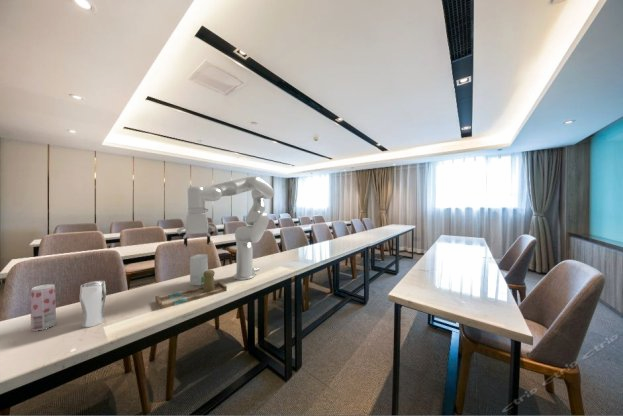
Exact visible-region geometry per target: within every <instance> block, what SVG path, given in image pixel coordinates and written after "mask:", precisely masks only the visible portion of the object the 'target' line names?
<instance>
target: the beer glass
mask: <svg viewBox="0 0 623 416" xmlns="http://www.w3.org/2000/svg"><path fill="white" fill-rule="evenodd" d="M106 288H107V285H106V281H105V280H95V281H89V282H86V283H84V284H81V285H80V292H79V303H80V307H81V310H82V311H81V312H82V314H83V315H82V317H83V318H82V324H81V327H82V328H91V327H95V326H98V325H101V324H102V323H104V322H105V320H106V319H105V316H104V307H105V302H106V298H107V289H106Z"/></svg>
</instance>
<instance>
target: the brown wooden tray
mask: <svg viewBox="0 0 623 416" xmlns="http://www.w3.org/2000/svg"><path fill="white" fill-rule="evenodd" d="M214 284H215V288H216V287H217V288H218V289H215V290H214V291H210V292H206V293H203V286H201V287H195V288H192V289H187V290H184V291H177V292H173V293H169V294H167V295H163V296H159V295H155V300H154V301H155V303H156V305H157V308H158V309H159V310H163V309H166V308H170V307H172V306H177V305H178V306H179V305H181V304H184V303H187V302H191V301H195V300H199V299H203V298H206V297H209V296H213V295H217V294H221V293H224V292H227V285H225V284H224V283H222V282H221V281H220V280H219V281H217V282H216V283H214ZM201 291H202V293H199V294H195V295H191V296H188V297H186V296H185V295H190V294H192V293H193V294H194V293H197V292H201ZM181 296H185V297H182V298H178V297H181ZM174 298H178V299H175V300H173V301H169V302H165V303H163V301H165V300H169V299H171V300H172V299H174Z"/></svg>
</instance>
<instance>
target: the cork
mask: <svg viewBox="0 0 623 416" xmlns="http://www.w3.org/2000/svg"><path fill="white" fill-rule="evenodd" d="M215 273H216V272H215V271H214V270H213V269H208V270H207V271H205V272H204V274H203V275H204V277H205V279H204V283H203V286H202V287H203V290H202V294H203V293H206V292H210V291H214V290H216V287H215V284H216V283H215V279H214V277H215Z"/></svg>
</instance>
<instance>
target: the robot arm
mask: <svg viewBox="0 0 623 416" xmlns="http://www.w3.org/2000/svg"><path fill="white" fill-rule="evenodd" d="M249 191H251V192H250V193H251V198H252V201H253V203H252V205H251V208H250V209H249V211H248V213H247V215H246V217H245V220H244V222H245V224H246V225H247V226H246V225H243V226H238V227H237V228H236V230H235V232H234V238H235V244H236V269H235V270H236V272H235V274H233V278H234V280H239V281H245V280H250V279H252V278H254V277H255V276H256V274H255V272H260V268H259V267H258V268H257V267H253V251H254V250H253V244H257V243H258V242H260V241H261V239H262V238H263V235H264V234H265V231H266V230H267V228H268V225H269V222H270V217H269V215H268V214H267V213H265V210H266V203H265V200H270V199H272V198H273V197H274V196H275V190H274V188H273V187H272V186H271V185H270V184H269V183H267V182H266V181H265V180H264V179H262V178H261V177H259V176H246V177H242V178H238V179H234V180H230V181H225V182H220V183H217V184H213V185H208V186H203V187H202V186H190V187H188V188H187V212H188V213H187V214H186V215H185V225H184V226H182V227H180V228H178V229H177V230H176V232H177V233H178V235H179V236H180V237H182V238H183V245H184V246H185V247H186V248H187V247H188V237H189V235H200V234H201V235H202V234H205V235H207V236H206V244H207V245H210V243H211V236H212V235H213V234H214V233H215V231H216V229H217V228H216V227H215V226H213V225H211V224H209V221H208V215H207V212H209V209H208V208H206V202H217V201H219V200H220V199H221V198H222V197H230V196H237V195H240V194H242V193H243V194H244V193H246V192H249ZM209 229H211V231H210V232H209ZM183 230H185V234H184V233H182V231H183Z"/></svg>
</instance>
